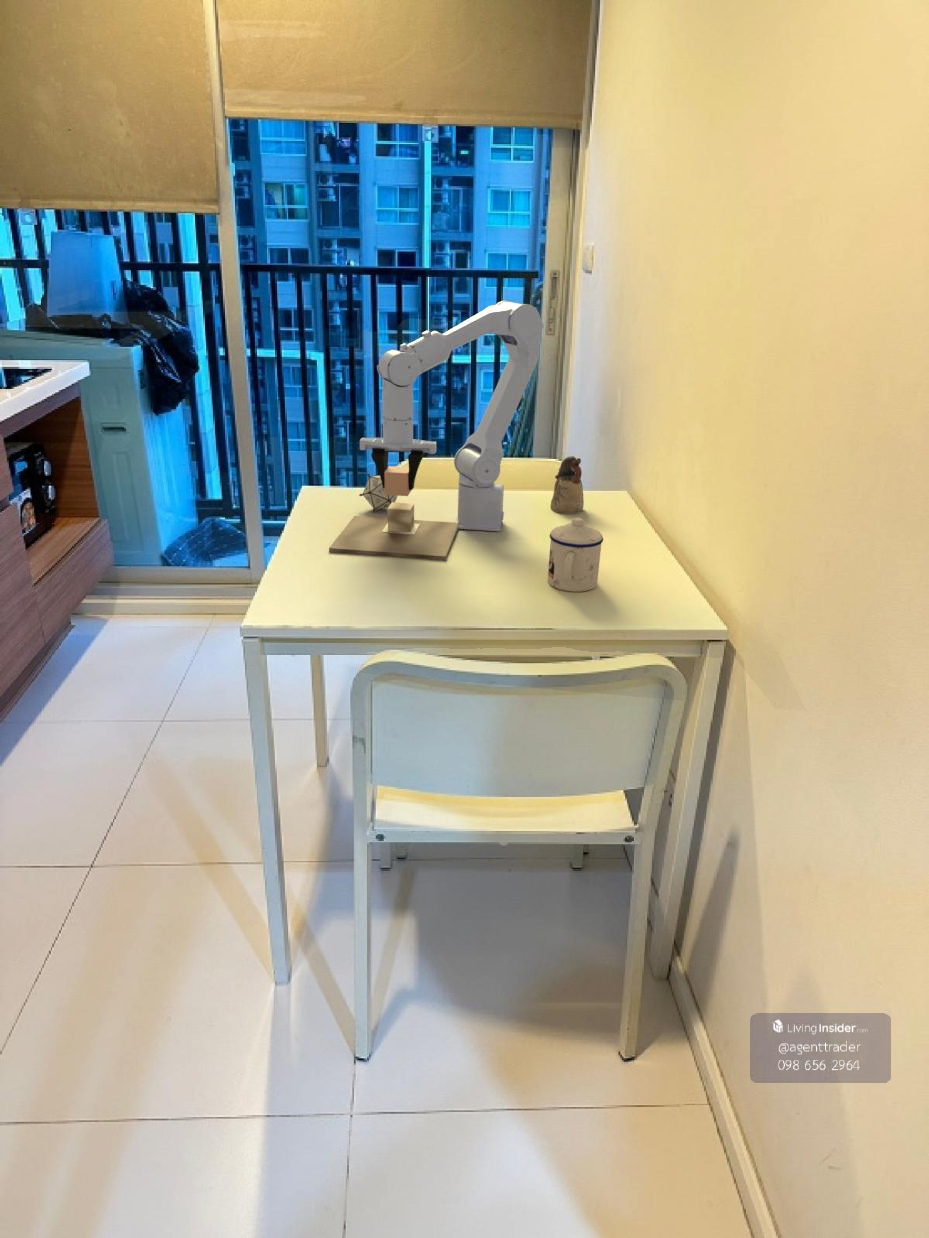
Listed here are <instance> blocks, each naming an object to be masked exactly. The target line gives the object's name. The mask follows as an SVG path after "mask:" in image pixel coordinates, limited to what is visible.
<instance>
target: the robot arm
mask: <svg viewBox="0 0 929 1238" xmlns="http://www.w3.org/2000/svg"><path fill="white" fill-rule="evenodd" d="M543 328H544V323H543V321H542V318H541V315H540V313H539V311H538V309H537V308H536V307H535V306H533V305H531V304H528V303H518V302H517V303H516V302H512V301H510V300H502V301H498V302H497V303H496V304H495V305H494V304H493V305H489V306H488V307H487V306H486V308H485V309H483V310H482V311H479V313H476V314H475V315H473V316H471V317H469V318H468V319H466V320H464V321H463V322H461V323H459V324H458V325H456V326H454V327H452V328H450V329H449V330H448V331H446V332H444V333H441V332H439V331H437V330H433V331H430V330H425V331H423V332H421V335H422V337H419V338H417V339H415V340H414V341H412V342H410V343H402V344H400V345H399V350H397V349H396V350H395V349H391V350H388V351H386V352H385V353H384V354H383V355H382V357H381V358H380V359H379V363H378V365H376V370H377V373H378V375H379V377H380V378H381V379H382V380H381V381H382V394H381V395H382V397H381V398H382V437H362V438H360V439H359V450H360V451H367V450H369V451H370V450H371V454H370V456H371V459H372V461H373V462H374V465H375V467H376V468H377V471H378V474H379V475H380V477H381V481H382V486H383V488H385V473H384V472H385V471H386V469H387V468H388V467H389V452H392V451H393V452H409V454H408V455H407V461H408V467H409V490H411V491H413V489H414V488H415V482H416V477H417V473H418V470H419V467H420V465H421V462H422V460H423V458H424V456H425V453H427V454H430V455H435V454H436V453H437V441H430V440H422V439H415V438H414V383H415V381H416V380H417V378H418V376H420V375H421V374H423V373H425V372H427V371H429V370H431V369H432V368H435V367H437V366H438V365H441V364H442V363H445V362H446V361H448V359H449V358H450V355H451V353H452V351H453V350H455V349H458V348H460V347H462V346H464V345H466V344H468V343H470V342H472V341H476V340H477V339H479V338H482V337H484V336H485V335H489V334H492V335H497V336H498V338H500V339H501V341H502V342H503V345H504V347H505V349H506V351H507V354H508V358H507V359H508V360H507V361H506V364H505V367H504V368H503V370H502V372H501V375H500V378H499V380H498V382H497V385H496V387H495V389H494V391H493V393H492V396H491V398H490V400H489V402H488V405H487V407H486V409H485V411H484V413H483V415H482V418H481V421H480V422H479V425H478V428H477V429H476V431H475V432H473V434H471V435H470V436H469V435H468V437H467V438H466V441H465V443H464V444H463V446H462V447H461V448H459V449H458V450H457V452H456V453H455V455H454V458H453V462H454V463H453V464H454V468H455V470H456V472H457V473H458V474H459V475H458V476H459V477H458V490H457V491H458V492H457V494H458V495H457V517H456V519H455V522H454V523H459V527H458V530H470V531H471V530H473V531H487V532H489V531H490V532H500V530H501V528H502V527H501V526H502V523H503V521H504V515H505V512H504V509H503V508H504V493H505V492H504V491H505V488H504V487H505V485H504V484H501V483H496V481H497V479H499V477H500V475H501V474H500V473H501V462H502V460H503V457H504V450H503V445H502V444H503V443H502V441H503V440H504V437H505V435H506V433H507V430H508V428H509V426H510V424H511V421H512V420H513V417H514V415H515V413H516V410H517V409H518V406H519V404H520V401H521V399H522V397H523V395H524V393H525V390H526V388H527V386H528V383H529V381H530V380H531V377H532V376H533V373H534V370H535V369H536V366H537V364H538V362H539V358H540V346H541V345H540V344H541V341H540V340H541V333H542V331H543Z"/></svg>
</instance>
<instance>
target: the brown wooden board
mask: <svg viewBox="0 0 929 1238" xmlns="http://www.w3.org/2000/svg"><path fill="white" fill-rule="evenodd" d="M458 527H459V523H455V522H451V521H437V520H422V519H421V520H420V519H414V526H413V528H412V530H411V531H410V532H400V531H388V517H377V516H376V517H374V516H364V515H363V516H362V515H354V516H353V517H352V518H351V519H350V521H349V522H348V523H347V525H346V526H345V527H344V528H343V530H342V531H341V532H340V534H338V536H337V537H336V539H335V540H334V541H333V542H332V544H330V546H329V548H328V552H329V553H338V554H349V555H350V554H353V555H365V556H367V555H369V556H381V557H392V558H406V559H418V560H419V559H421V560H424V559H425V560H433V561H434V560H435V561H447V558H448V556H449V553H450V550H451V548H452V545H453V543H454V541H455V537H456V536H457V533H458V530H459V529H458Z"/></svg>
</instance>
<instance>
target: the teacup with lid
mask: <svg viewBox="0 0 929 1238" xmlns="http://www.w3.org/2000/svg"><path fill="white" fill-rule="evenodd" d="M549 538H550V543H549V544H550V545H549V554H548V556H549V558H548V570H547V582H548V584H549V585H550V586H551V587H552V588H555V589H558V590H560V591H564V592H572V593H581V592H582V593H583V592H588V591H591V590H594V588H596V587H597V585H598V579H599V572H600V571H599V570H600V562H601V561H600V560H601V553H602V551H601V550H602V543H603V542H604V537H603V534H602V533H601V531H599V530H598V529H596V528H593V527H591V526H589V525H588V524H586V523H585V520H584V519H583V518H581V517H573V519H572V520H571V522H570V523H567V524H565V525H560V526H556V527H555V528H553V529H551V531H550V534H549Z"/></svg>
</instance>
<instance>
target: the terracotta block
mask: <svg viewBox="0 0 929 1238" xmlns="http://www.w3.org/2000/svg"><path fill="white" fill-rule="evenodd" d="M384 473H385V495H397V497H398V496H399V497H403V496H404V497H409V495H410V493H411V492H412V490H409V466H395V465H394V466H393V465H392V466H391V465H388V468H387V469H386V471H385V472H384Z"/></svg>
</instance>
